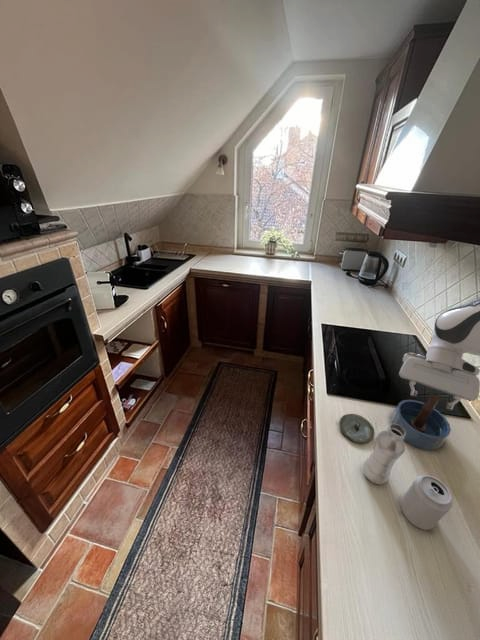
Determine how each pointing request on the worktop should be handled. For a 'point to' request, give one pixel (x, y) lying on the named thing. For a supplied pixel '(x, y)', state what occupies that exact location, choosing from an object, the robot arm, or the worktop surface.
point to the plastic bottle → (385, 454)
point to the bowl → (435, 424)
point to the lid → (356, 428)
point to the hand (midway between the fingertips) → (430, 402)
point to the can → (426, 502)
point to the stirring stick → (424, 413)
